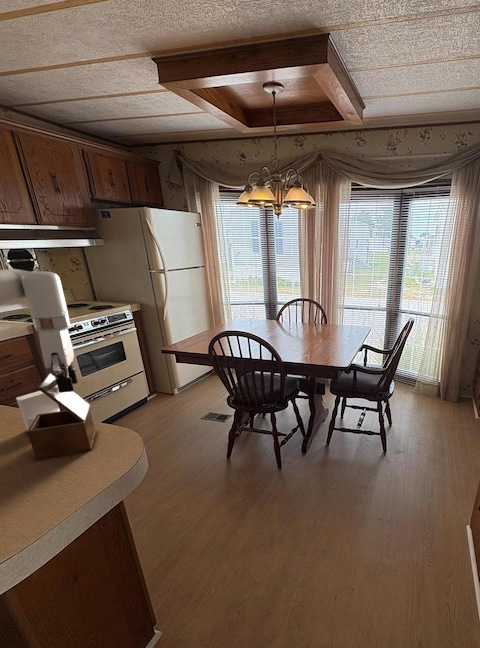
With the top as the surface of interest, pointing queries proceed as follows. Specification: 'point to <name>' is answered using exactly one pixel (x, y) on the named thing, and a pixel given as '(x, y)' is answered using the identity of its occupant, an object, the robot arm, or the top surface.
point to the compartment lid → (65, 398)
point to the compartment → (60, 434)
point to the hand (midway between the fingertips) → (68, 386)
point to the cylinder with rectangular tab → (35, 406)
